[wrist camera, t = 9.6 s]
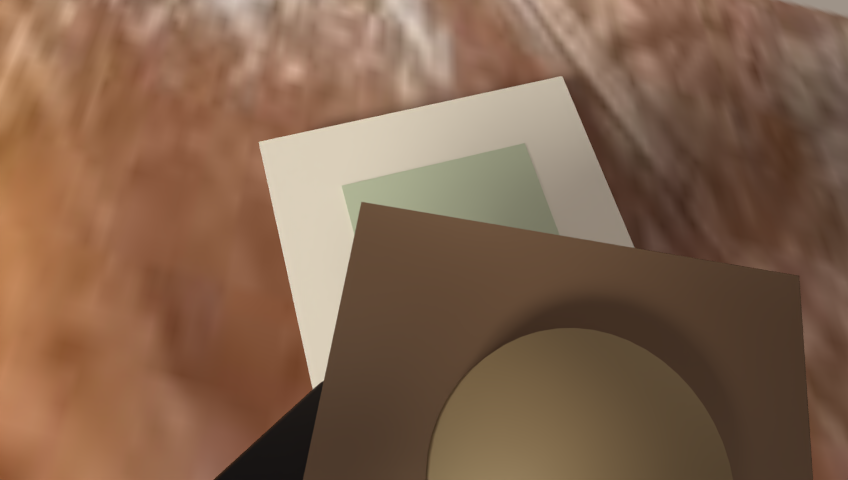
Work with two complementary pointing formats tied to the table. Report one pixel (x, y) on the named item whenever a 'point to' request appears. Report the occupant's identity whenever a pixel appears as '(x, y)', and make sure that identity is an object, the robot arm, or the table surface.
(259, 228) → the table surface
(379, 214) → the walnut pillar
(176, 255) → the table surface
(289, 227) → the baseplate
